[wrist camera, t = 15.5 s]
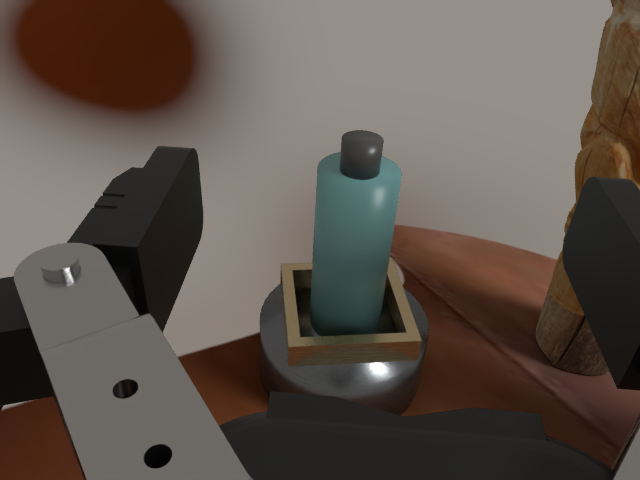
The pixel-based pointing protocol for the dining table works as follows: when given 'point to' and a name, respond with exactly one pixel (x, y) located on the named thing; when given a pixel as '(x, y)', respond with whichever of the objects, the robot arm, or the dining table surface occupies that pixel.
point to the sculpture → (598, 161)
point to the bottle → (353, 236)
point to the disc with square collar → (342, 346)
